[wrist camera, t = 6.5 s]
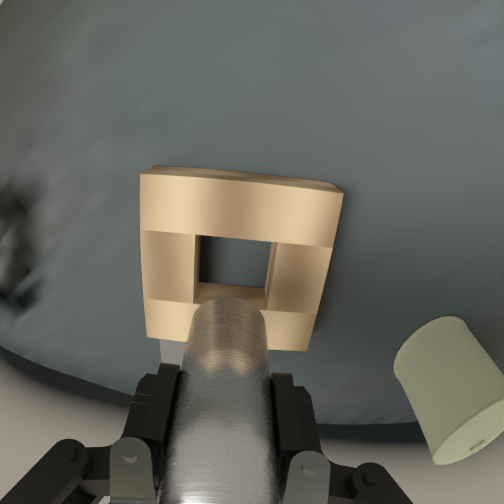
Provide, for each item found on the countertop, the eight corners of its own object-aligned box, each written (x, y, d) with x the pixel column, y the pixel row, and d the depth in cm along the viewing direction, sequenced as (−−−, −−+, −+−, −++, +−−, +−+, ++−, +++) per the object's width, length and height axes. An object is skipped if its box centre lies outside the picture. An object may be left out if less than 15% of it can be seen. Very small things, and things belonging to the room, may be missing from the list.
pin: (270, 300, 14) (300, 555, 4) (260, 357, 16) (273, 570, 6) (191, 292, 14) (136, 545, 4) (191, 351, 16) (158, 562, 6)
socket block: (331, 183, 21) (343, 193, 18) (301, 327, 26) (306, 351, 23) (154, 165, 20) (140, 174, 17) (156, 314, 25) (147, 336, 22)
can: (399, 393, 30) (434, 479, 19) (385, 343, 27) (434, 446, 16) (467, 357, 29) (514, 431, 18) (465, 300, 25) (534, 381, 14)
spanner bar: (155, 313, 25) (152, 320, 24) (193, 318, 25) (191, 325, 24) (163, 395, 29) (161, 402, 28) (193, 399, 30) (192, 406, 29)
